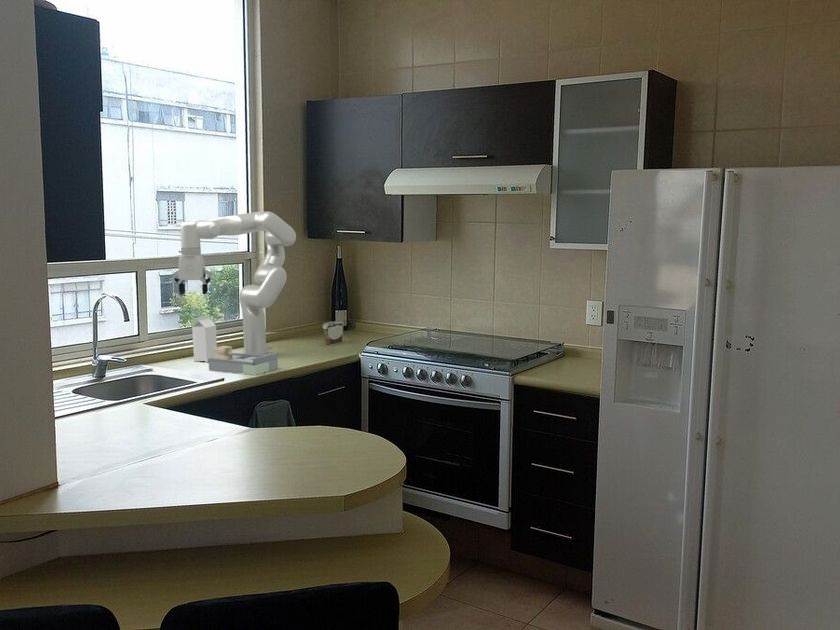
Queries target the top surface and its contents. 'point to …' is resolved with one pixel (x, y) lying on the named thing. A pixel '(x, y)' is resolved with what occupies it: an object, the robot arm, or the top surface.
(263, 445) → the top surface
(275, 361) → the two-pit board
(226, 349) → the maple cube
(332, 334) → the food container
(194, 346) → the milk carton
